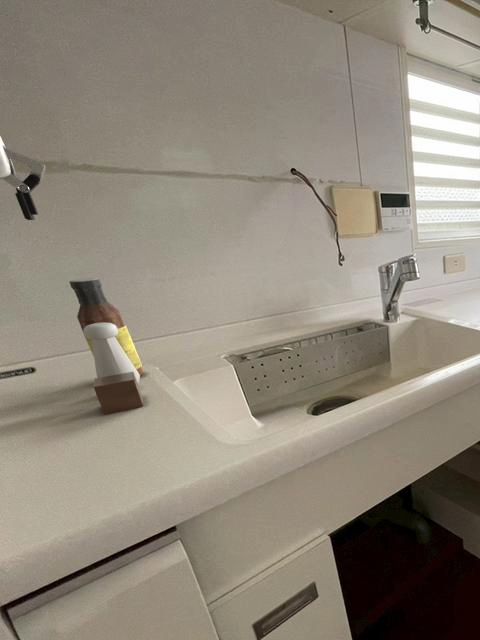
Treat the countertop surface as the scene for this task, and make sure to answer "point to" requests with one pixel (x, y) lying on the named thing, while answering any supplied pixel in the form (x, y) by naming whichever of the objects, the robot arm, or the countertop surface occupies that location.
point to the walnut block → (118, 392)
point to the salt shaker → (108, 351)
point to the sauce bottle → (102, 315)
